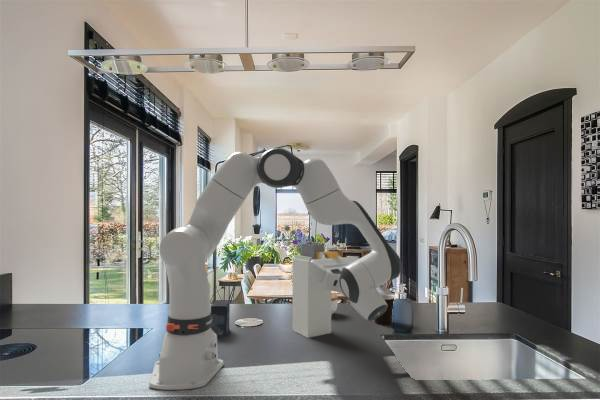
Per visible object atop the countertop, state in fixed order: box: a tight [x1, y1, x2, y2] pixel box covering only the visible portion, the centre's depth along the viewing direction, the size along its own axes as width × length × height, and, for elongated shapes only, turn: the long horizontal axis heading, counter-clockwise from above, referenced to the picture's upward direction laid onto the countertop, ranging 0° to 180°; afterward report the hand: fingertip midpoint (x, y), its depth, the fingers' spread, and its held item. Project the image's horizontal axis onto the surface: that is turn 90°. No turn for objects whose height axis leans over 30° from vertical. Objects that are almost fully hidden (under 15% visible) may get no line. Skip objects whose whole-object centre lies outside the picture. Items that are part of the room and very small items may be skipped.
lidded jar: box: [331, 293, 339, 316], centre depth 169 cm, size 11×11×9 cm
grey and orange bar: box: [301, 243, 339, 259], centre depth 141 cm, size 17×4×5 cm, turn 33°
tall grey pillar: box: [291, 254, 332, 339], centre depth 145 cm, size 10×10×27 cm
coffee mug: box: [374, 294, 395, 326], centre depth 158 cm, size 12×9×10 cm
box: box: [210, 300, 231, 337], centre depth 143 cm, size 8×6×11 cm
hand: (325, 253), depth 138 cm, fingers closed on grey and orange bar, 2 cm apart
